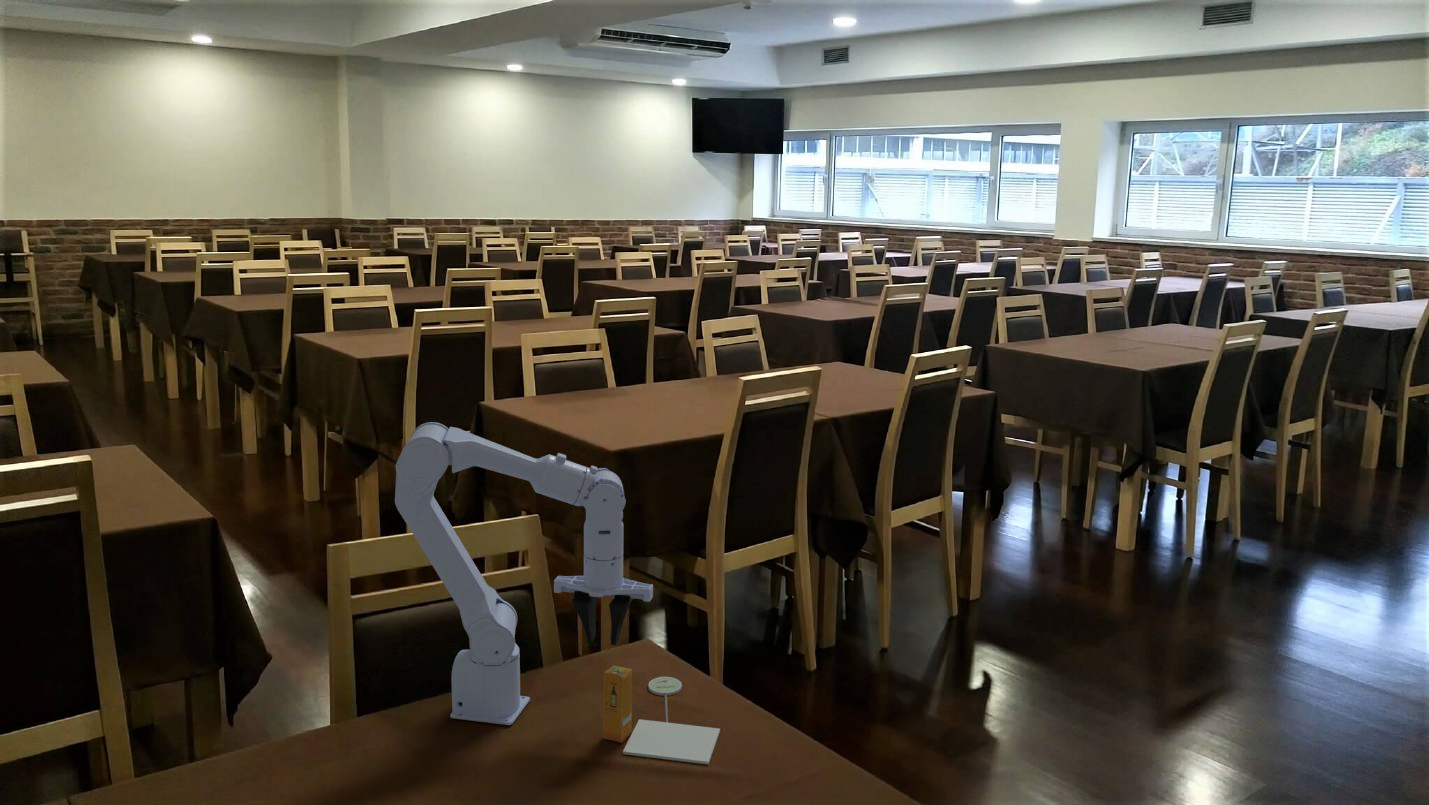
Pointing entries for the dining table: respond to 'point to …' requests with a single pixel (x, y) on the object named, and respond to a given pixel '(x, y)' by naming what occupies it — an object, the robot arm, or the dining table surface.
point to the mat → (672, 741)
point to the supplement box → (617, 704)
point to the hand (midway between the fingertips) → (603, 641)
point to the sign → (665, 688)
